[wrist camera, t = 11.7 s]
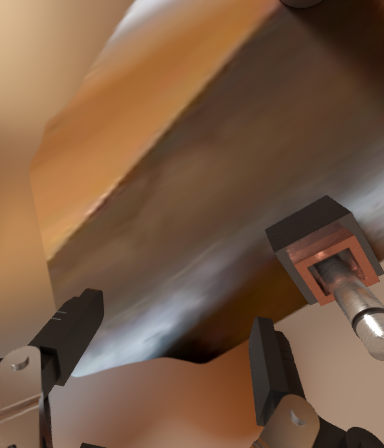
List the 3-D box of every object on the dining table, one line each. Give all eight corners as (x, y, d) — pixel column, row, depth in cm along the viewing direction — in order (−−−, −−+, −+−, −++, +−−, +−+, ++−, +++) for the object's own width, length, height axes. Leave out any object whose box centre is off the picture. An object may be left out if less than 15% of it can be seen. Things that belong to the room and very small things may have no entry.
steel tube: (334, 246, 33) (405, 324, 20) (347, 267, 34) (422, 352, 21) (308, 260, 34) (359, 340, 21) (321, 279, 35) (377, 367, 22)
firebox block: (326, 195, 38) (362, 219, 29) (355, 246, 41) (396, 284, 31) (264, 230, 42) (277, 262, 32) (295, 275, 45) (316, 317, 35)
